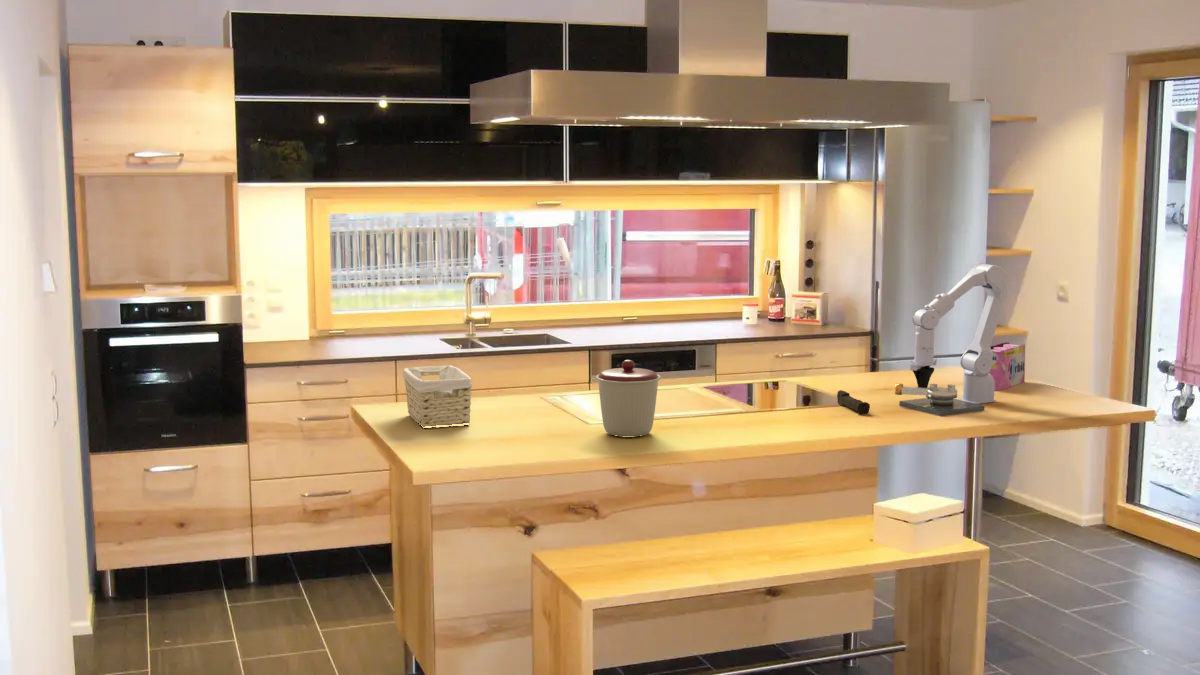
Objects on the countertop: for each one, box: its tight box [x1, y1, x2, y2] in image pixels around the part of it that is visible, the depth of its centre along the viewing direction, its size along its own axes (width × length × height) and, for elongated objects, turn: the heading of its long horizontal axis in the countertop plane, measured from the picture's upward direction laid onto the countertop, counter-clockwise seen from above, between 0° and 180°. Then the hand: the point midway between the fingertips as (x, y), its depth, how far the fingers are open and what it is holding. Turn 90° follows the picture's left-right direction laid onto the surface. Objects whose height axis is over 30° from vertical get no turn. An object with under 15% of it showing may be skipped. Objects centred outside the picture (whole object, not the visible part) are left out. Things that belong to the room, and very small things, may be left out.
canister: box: [595, 359, 662, 437], centre depth 327 cm, size 18×18×21 cm
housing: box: [898, 397, 986, 417], centre depth 364 cm, size 18×18×4 cm
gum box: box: [989, 341, 1026, 392], centre depth 403 cm, size 24×8×14 cm, turn 138°
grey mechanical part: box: [894, 383, 958, 399], centre depth 365 cm, size 19×9×4 cm, turn 73°
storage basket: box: [402, 364, 473, 427], centre depth 345 cm, size 24×16×15 cm
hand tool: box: [836, 389, 871, 415], centre depth 364 cm, size 19×4×5 cm, turn 10°
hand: (922, 390), depth 371 cm, fingers closed
